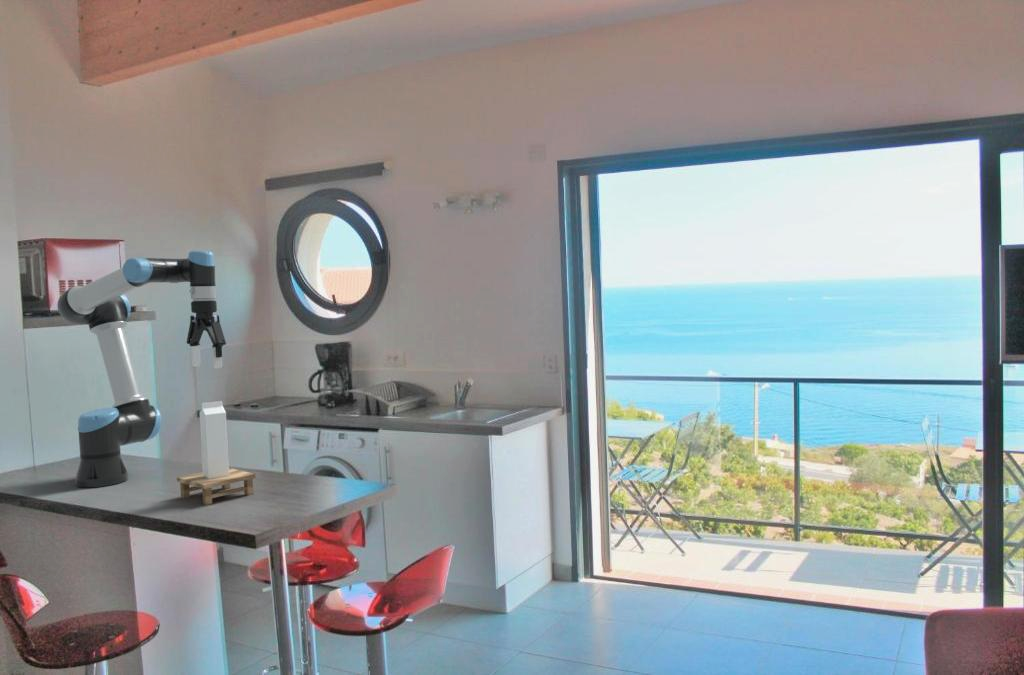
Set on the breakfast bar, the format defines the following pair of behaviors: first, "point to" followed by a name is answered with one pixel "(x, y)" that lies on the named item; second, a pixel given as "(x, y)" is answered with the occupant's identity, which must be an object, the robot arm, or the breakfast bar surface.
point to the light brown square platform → (216, 484)
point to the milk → (214, 440)
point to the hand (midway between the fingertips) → (207, 367)
